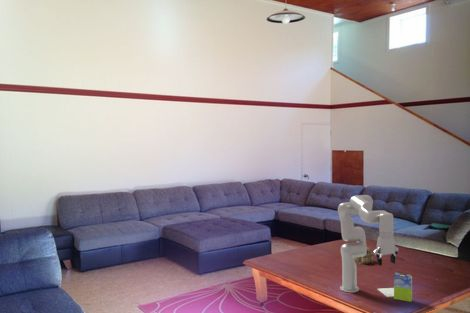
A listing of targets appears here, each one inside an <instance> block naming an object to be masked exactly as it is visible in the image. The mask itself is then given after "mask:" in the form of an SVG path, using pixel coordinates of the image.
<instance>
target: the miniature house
mask: <svg viewBox="0 0 470 313" xmlns="http://www.w3.org/2000/svg"><path fill="white" fill-rule="evenodd" d="M374 257H375V254H374V252H371V248H370V247H368V246H367V253H366V255H365V256H363V257H355V258H353V259H354V261H356V264H358V263H359V264H358V265H367V264H368V265H369V264H374Z"/></svg>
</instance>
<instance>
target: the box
mask: <svg viewBox="0 0 470 313" xmlns="http://www.w3.org/2000/svg"><path fill="white" fill-rule="evenodd" d="M393 273H394V274H393V288H394V297H393V299H394V300H397V301H398V300H399V301H405V302H411V303H412V301H413V279H412V278H413V276H412V274H408V273H400V272H393Z"/></svg>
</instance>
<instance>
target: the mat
mask: <svg viewBox="0 0 470 313" xmlns="http://www.w3.org/2000/svg"><path fill="white" fill-rule="evenodd" d="M377 291H379V292H380V293H382V294H383V296H385V297H386V298H394V287H385V288H380V287H379V288H377Z"/></svg>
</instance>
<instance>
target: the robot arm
mask: <svg viewBox="0 0 470 313" xmlns="http://www.w3.org/2000/svg"><path fill="white" fill-rule="evenodd" d="M373 205H374V201H373V198H372V196H371V195H368V194H360V195H357V194H355V195H353V196H351V197H350V199H349V201H348V202H347V201H346V202H342V203H340V204H338V206H337V214H338V217H339V221H340V231H341V232H340V233H341V238H342V240H343V242H350V243H344V244H341V246H340V255H341V268H342V269H341V271H342V273H341V274H342V276H341V279H342V283H341V284H342V285H340V286H339V290H340V291H343V292H345V293H350V294H351V293H358V292H359V291H360V288H359V287H358V285H357V284H358V282H357V279H358V277H357V276H358V275H357V274H358V272H357V271H358V270H357V267H358V266H357V265H358V263H357V262H355V261H354V258H355V257H363V256H365V255H366V253H367V247H368V246H367V238H366V232H365V229H364V228H363V227H361V226H354V219H353V218H352V217H351V216H355V215H358V216H359V218H360V219H361V221H363V222H365V223H366V224H369V225H370V224H371V225H374V224H379V226H378V227H379V231H378V232H379V234H378V235H379V236H378V237H377V241H376V248H375V249H374V250H373V252H372V253H373V255H374V257H375V258H376V264H377V265H378V266H381V267H382V266H383V259H382V257H383V256H387V255H390V261H389V262H390V263H392V264H396V257H397V254H398V252H399V250H400V249H399V248H398V246H396V242H395V241H396V240H395V236H394V235H395V231H394V215H393V213H391V212H388V211H386V210H373Z"/></svg>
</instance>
